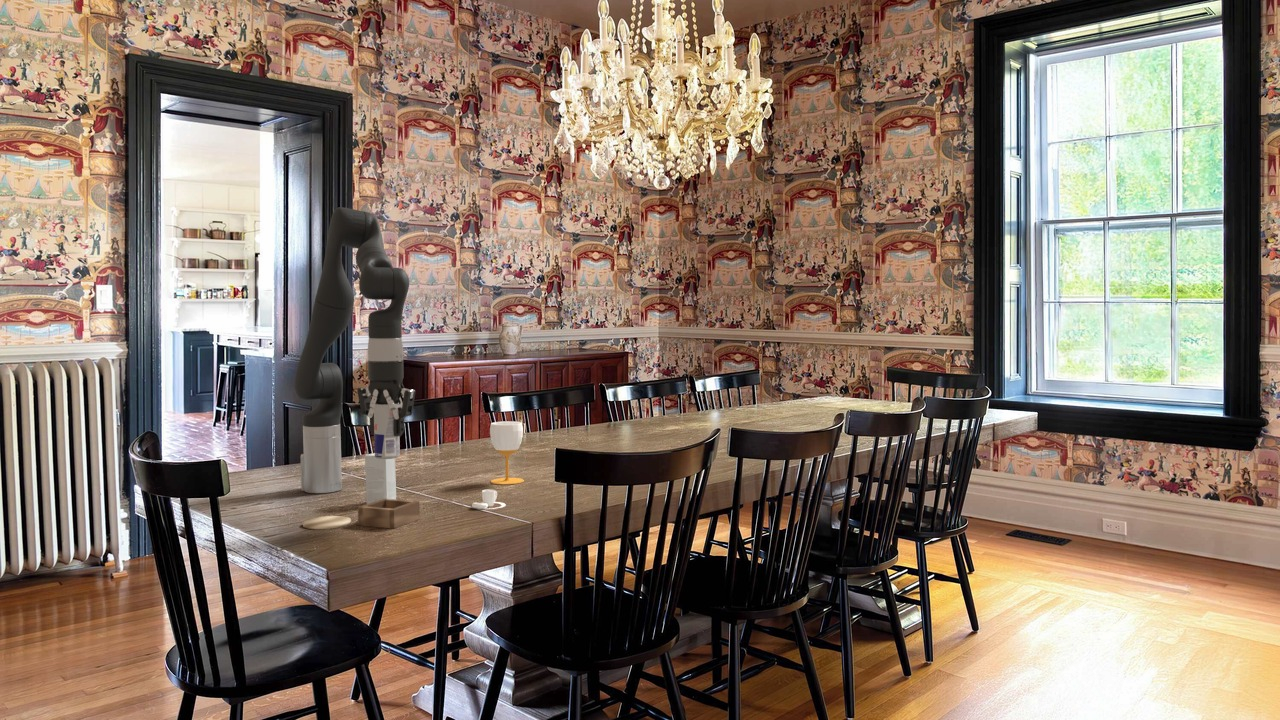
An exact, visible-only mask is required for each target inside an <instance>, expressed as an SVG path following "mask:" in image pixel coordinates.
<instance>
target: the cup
mask: <svg viewBox="0 0 1280 720" xmlns="http://www.w3.org/2000/svg"><path fill="white" fill-rule="evenodd" d="M489 426H490V428H489V435H490V439H491V443H492V446H493V447H494V450H496V451H497V452H498V453H499V454H500V455H503V456H504V457H505V477H500V478H494V479H492V480H490V483H491V484H493V485H499V486H503V485H504V486H509V485H510V486H511V485H518V484H522V483H524V481H525V480H524V479H523V478H519V477H509V476H510V475H509V474H510V473H509V471H510V470H509V468H510V467H509V464H510V462H509V457H510V456H511V455H513V454H515V453H516V452H517V451H518V449H519V448H520V446H521V443H522V440H523V436H524V435H523V434H524V428H523V422H521V421H516V420H515V421H513V420H510V421H509V420H508V421H507V420H505V421H495V422H491V423H490V425H489Z"/></svg>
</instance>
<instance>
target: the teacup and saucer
mask: <svg viewBox="0 0 1280 720" xmlns="http://www.w3.org/2000/svg"><path fill="white" fill-rule="evenodd" d="M481 497H482V499H481V500H482V502H476V501H475V502H472V505H471V506H472V508H473V509H475V510H476V509H477V510H496V509H502V508H504V507H506V506H507V505H506V503H504V502H502V501H497V497H498V491H497V490H495V489H492V488H491V489H489V488H488V489H483V490H481ZM495 504H499V505H500V506H497V507H493V506H494V505H495ZM488 507H489V508H488Z"/></svg>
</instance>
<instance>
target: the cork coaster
mask: <svg viewBox="0 0 1280 720" xmlns="http://www.w3.org/2000/svg"><path fill="white" fill-rule="evenodd" d="M351 523H352V519H351V517H347V516H343V515H341V516H340V515H327V516H320V517H314V518H310V519H306V520H304V521H303V522H302V527H303V528H305V529H309V530H332V529H339V528H343V527H346V526H349V525H351Z"/></svg>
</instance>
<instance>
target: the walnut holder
mask: <svg viewBox="0 0 1280 720" xmlns="http://www.w3.org/2000/svg"><path fill="white" fill-rule="evenodd" d="M420 514H421V512H420V501H419V500H407V499H397V498H396V499H381V500H378V501H375V502H372V503H369V504H367V503H366V504H363V505H360V506H357V518H358V519H357V520H358V521H357V522H358V523H357V524H358V526H364V527H375V528H384V529H386V528H387V529H397V528H400V527H402V526H404V525H407V524H410V523H413V522H416V521H418V520H420V517H421V516H420Z"/></svg>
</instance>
